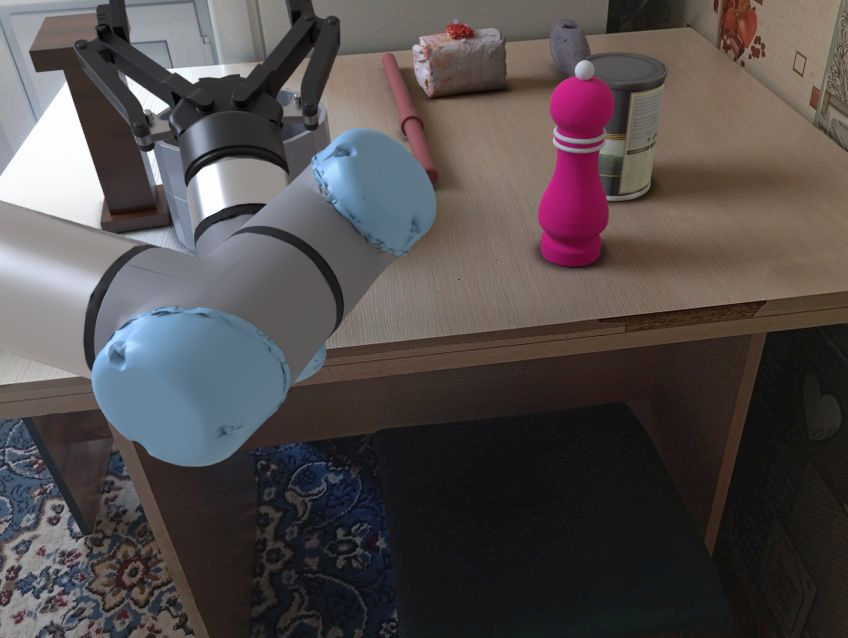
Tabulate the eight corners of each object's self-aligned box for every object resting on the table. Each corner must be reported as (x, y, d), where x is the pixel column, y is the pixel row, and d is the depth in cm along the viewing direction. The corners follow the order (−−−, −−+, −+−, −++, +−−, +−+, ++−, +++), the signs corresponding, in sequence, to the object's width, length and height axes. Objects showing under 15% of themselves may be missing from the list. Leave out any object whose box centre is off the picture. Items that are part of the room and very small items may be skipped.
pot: (157, 263, 83) (125, 156, 75) (197, 185, 97) (174, 89, 90) (330, 257, 83) (315, 150, 76) (345, 181, 97) (333, 85, 90)
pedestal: (104, 199, 94) (44, 16, 82) (173, 190, 96) (125, 9, 83) (97, 248, 85) (28, 51, 72) (173, 237, 87) (119, 42, 74)
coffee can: (575, 204, 92) (584, 84, 83) (559, 166, 100) (566, 53, 91) (661, 199, 92) (680, 79, 84) (638, 162, 100) (653, 49, 92)
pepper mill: (558, 228, 87) (570, 43, 75) (616, 247, 84) (639, 57, 72) (523, 256, 83) (530, 64, 70) (583, 277, 79) (602, 80, 67)
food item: (423, 102, 118) (420, 34, 112) (412, 84, 124) (408, 19, 118) (510, 92, 121) (511, 26, 115) (494, 75, 127) (495, 11, 121)
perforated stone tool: (597, 90, 121) (601, 43, 117) (564, 91, 121) (566, 45, 117) (576, 59, 133) (580, 16, 129) (546, 60, 133) (548, 17, 128)
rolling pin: (443, 187, 96) (442, 163, 94) (417, 190, 95) (416, 165, 93) (398, 68, 131) (397, 48, 129) (379, 69, 130) (378, 50, 128)
